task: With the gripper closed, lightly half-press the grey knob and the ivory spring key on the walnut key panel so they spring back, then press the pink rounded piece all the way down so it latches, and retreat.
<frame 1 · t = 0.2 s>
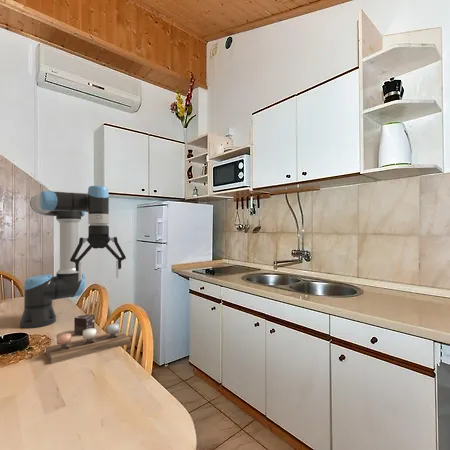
hand: (99, 278, 118), 27 cm above the table, fingers open, 13 cm apart
panel: (89, 347, 117), on the table
pink rounded piece: (63, 341, 111), point 5 cm above the table, slide at 0.0 cm
grey knob: (112, 330, 122), point 5 cm above the table, slide at 0.2 cm
key ivory: (89, 336, 117), point 5 cm above the table, slide at 0.2 cm
box: (84, 333, 134), on the table
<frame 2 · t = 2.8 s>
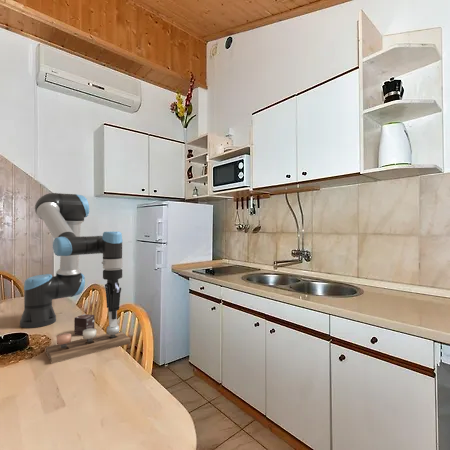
hand: (113, 326, 122), 6 cm above the table, fingers closed
grey knob: (112, 332, 122), point 4 cm above the table, slide at 0.8 cm, touching gripper
everything else where it was.
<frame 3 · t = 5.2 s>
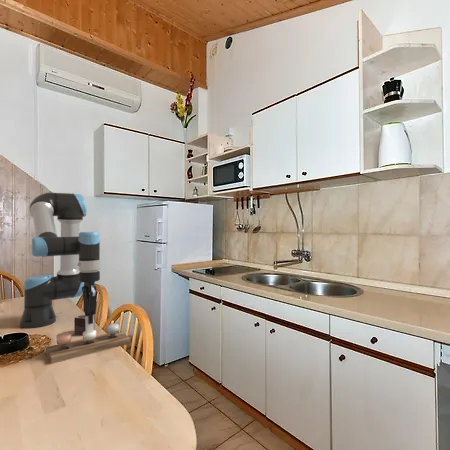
hand: (89, 331, 117), 6 cm above the table, fingers closed
grey knob: (112, 331, 122), point 4 cm above the table, slide at 0.3 cm
key ivory: (89, 337, 117), point 4 cm above the table, slide at 0.8 cm, touching gripper
everything else where it was.
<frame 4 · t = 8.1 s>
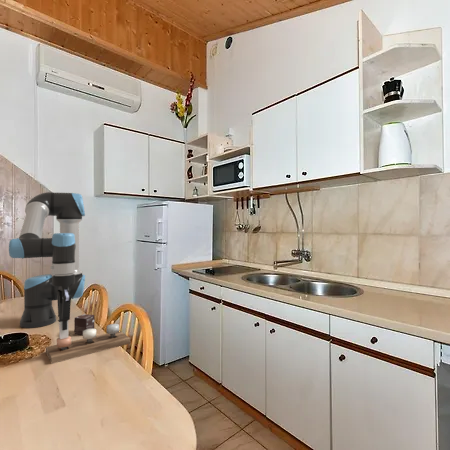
hand: (63, 337, 111), 6 cm above the table, fingers closed
pink rounded piece: (63, 344, 111), point 4 cm above the table, slide at 1.1 cm, touching gripper
key ivory: (89, 336, 117), point 4 cm above the table, slide at 0.3 cm
everything else where it was.
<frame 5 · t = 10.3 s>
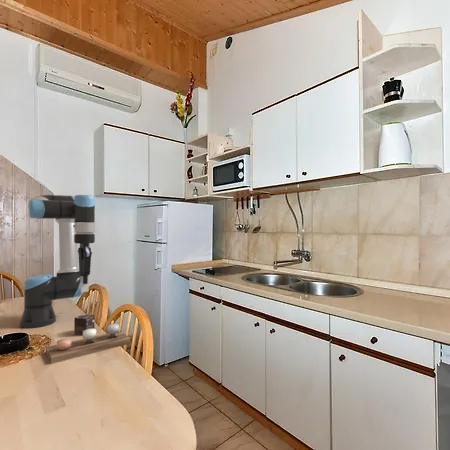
hand: (84, 291, 121), 21 cm above the table, fingers closed
pink rounded piece: (63, 346, 111), point 3 cm above the table, slide at 2.1 cm
everything else where it was.
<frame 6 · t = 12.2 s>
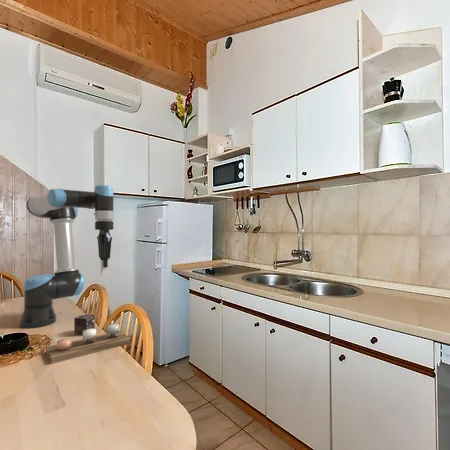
hand: (104, 274, 131), 26 cm above the table, fingers closed
nothing on the table moved.
at the end: pink rounded piece slide at 2.1 cm; key ivory slide at 0.3 cm; grey knob slide at 0.3 cm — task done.
